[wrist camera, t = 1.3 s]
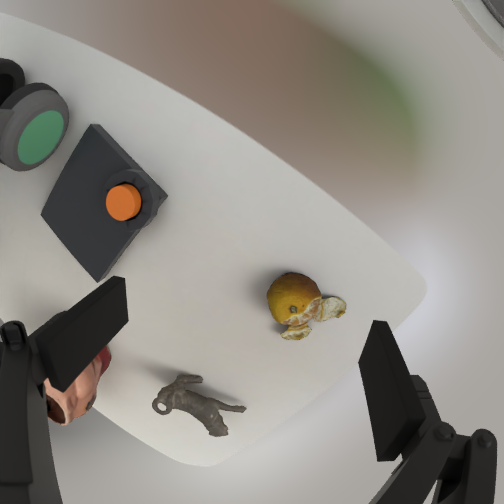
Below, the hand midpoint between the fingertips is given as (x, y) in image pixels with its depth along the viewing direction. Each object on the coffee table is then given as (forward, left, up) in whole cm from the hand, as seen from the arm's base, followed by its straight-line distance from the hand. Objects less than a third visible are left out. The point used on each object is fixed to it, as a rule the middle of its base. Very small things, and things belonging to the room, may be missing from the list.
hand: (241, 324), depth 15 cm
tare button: (+8, -13, -15) cm, 21 cm away
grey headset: (+11, -36, -18) cm, 42 cm away
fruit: (+4, +9, -18) cm, 20 cm away
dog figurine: (+24, +11, -18) cm, 32 cm away
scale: (+13, -17, -18) cm, 28 cm away
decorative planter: (+36, -6, -18) cm, 41 cm away
